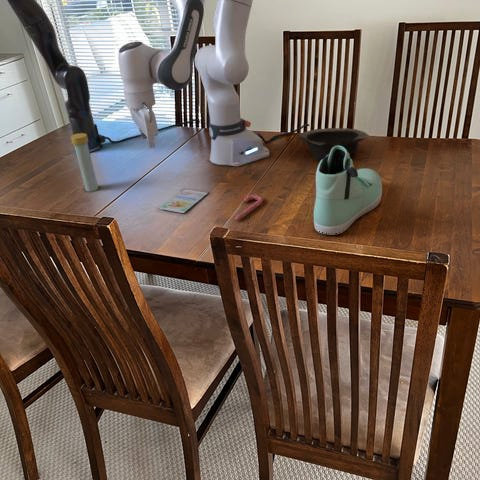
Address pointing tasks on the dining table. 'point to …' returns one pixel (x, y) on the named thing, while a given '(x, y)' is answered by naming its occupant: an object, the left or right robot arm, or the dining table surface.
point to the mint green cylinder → (86, 167)
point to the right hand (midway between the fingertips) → (148, 142)
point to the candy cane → (250, 206)
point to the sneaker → (343, 192)
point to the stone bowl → (332, 140)
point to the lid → (79, 139)
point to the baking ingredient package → (183, 201)
